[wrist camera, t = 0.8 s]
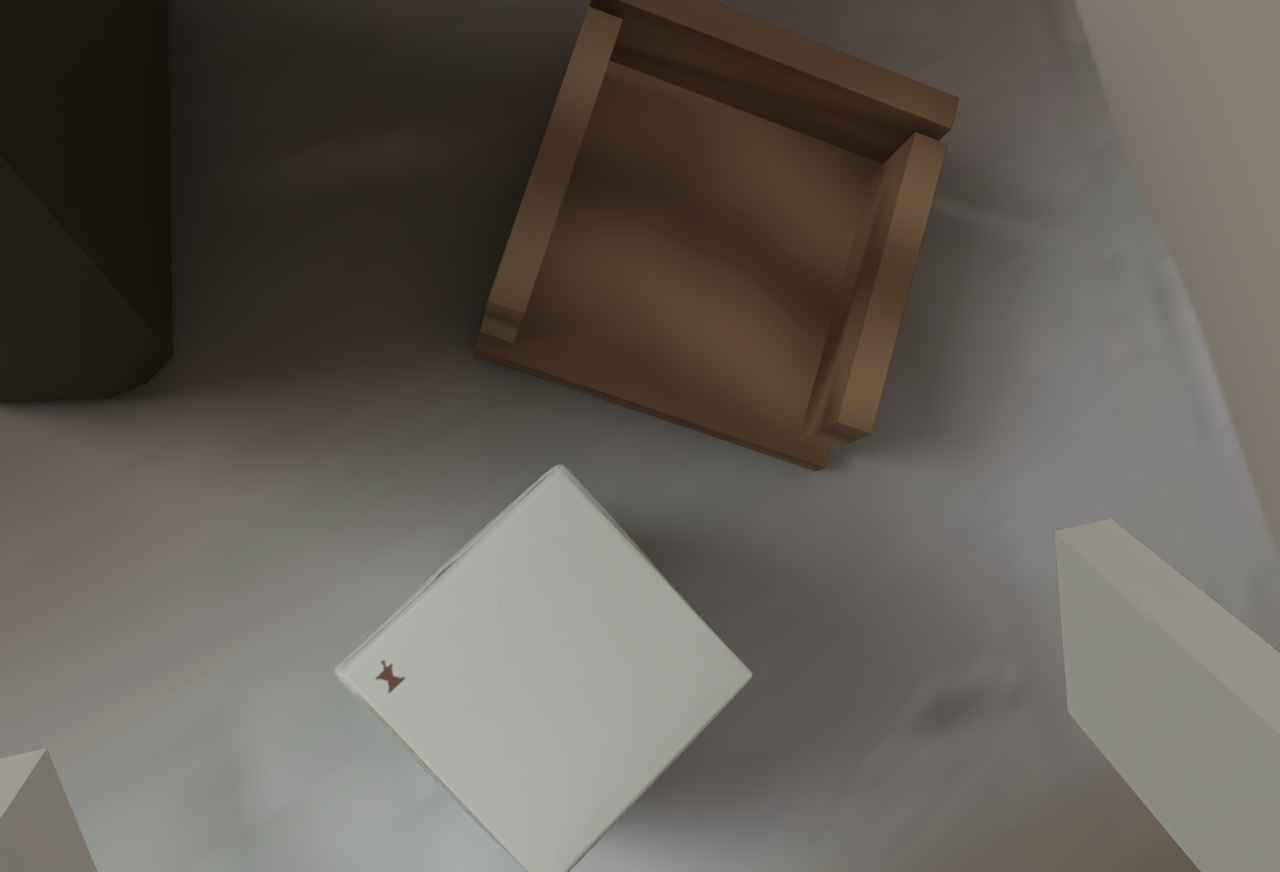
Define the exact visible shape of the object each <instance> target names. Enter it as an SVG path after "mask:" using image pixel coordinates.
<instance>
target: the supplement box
mask: <svg viewBox="0 0 1280 872" xmlns="http://www.w3.org/2000/svg"><path fill="white" fill-rule="evenodd" d="M334 672H335V676H336V677H337V678H338V679H339V680H340V681H341V683H342V684H343V685H344V686H345V687H346V688H347V689H348V690H349V691H350V692H351V693H352V694H353V695H354V696H355V697H356V698H357V699H358V701H359V702H360V703H361V704H362V705H363V706H364V707H365V708H366V709H367V710H368V711H369V712H370V713H371V714H372V715H373V716H374V717H375V719H376V720H377V721H378V722H379V723H380V724H381V725H382V726H383V727H384V728H385V729H386V730H387V731H388V732H389V733H390V734H391V735H392V736H393V737H394V738H395V739H396V741H397V742H398V743H399V744H400V745H401V746H402V747H403V748H404V749H405V750H406V751H407V752H408V753H409V754H410V755H411V756H412V757H413V758H414V760H415V761H416V762H417V763H418V764H419V765H420V766H421V767H422V768H423V769H424V770H425V771H426V772H427V773H428V774H429V775H430V776H431V777H432V778H433V779H434V780H435V781H436V782H437V783H438V784H439V785H440V786H441V787H442V788H443V789H444V790H445V791H446V792H447V793H448V794H449V795H450V796H451V797H452V798H453V799H454V800H455V801H456V802H457V803H458V804H459V805H460V806H461V807H462V808H463V809H464V810H465V811H466V812H467V814H468V815H469V816H470V817H471V818H472V819H473V820H474V821H475V822H476V823H478V824H479V825H480V826H481V827H482V828H483V829H484V830H485V831H486V832H487V833H488V834H489V835H490V836H491V837H492V838H493V839H494V840H495V841H496V842H497V843H498V844H499V845H500V846H501V847H502V848H503V849H504V850H505V851H506V852H507V853H508V854H509V855H510V856H511V857H512V858H513V859H514V860H515V861H516V862H517V863H518V864H519V865H520V866H521V867H523V868H524V869H525V870H526V871H527V872H569V871H570V870H571V869H572V868H573V867H574V866H575V865H576V864H577V863H578V862H579V861H580V860H581V859H582V858H583V857H584V856H585V855H586V854H587V853H588V852H589V851H590V849H591V848H592V847H593V846H594V845H595V844H596V843H597V842H598V841H599V840H600V839H601V838H602V837H603V836H604V835H605V834H606V833H607V832H608V831H609V830H610V828H611V827H612V826H613V825H614V824H615V823H616V822H617V821H618V820H619V819H620V818H621V817H622V816H623V815H624V814H625V813H626V812H627V811H628V810H629V809H630V808H631V807H632V806H633V804H634V803H635V802H636V801H637V800H638V799H639V798H640V797H641V796H642V795H643V794H644V793H645V792H646V791H647V790H648V789H649V788H650V787H651V786H652V785H653V783H654V782H655V781H656V780H657V779H658V778H659V777H660V776H661V775H662V774H663V773H664V772H665V771H666V770H667V769H668V768H669V767H670V766H671V764H672V763H673V762H674V761H675V760H676V759H677V758H678V757H679V756H680V755H681V754H682V753H683V752H684V751H685V750H686V749H687V748H688V746H689V745H690V744H691V743H692V742H693V741H694V740H695V739H696V738H697V737H698V736H699V735H700V734H701V733H702V732H703V731H704V730H705V728H706V727H707V726H708V725H709V724H710V723H711V722H712V721H713V720H714V719H715V718H716V717H717V716H718V715H719V714H720V713H721V711H722V710H723V709H724V708H725V707H726V706H727V705H728V704H729V703H730V702H731V701H732V699H733V698H734V697H735V696H736V695H737V694H738V693H739V692H740V691H741V690H742V689H743V687H744V686H745V685H746V684H747V683H748V682H749V681H750V680H751V679H752V677H753V673H752V672H751V671H750V670H749V669H748V668H747V667H746V666H745V665H744V664H743V663H742V662H741V661H740V659H739V658H738V657H737V656H736V655H735V654H734V653H733V652H732V651H731V650H730V649H729V648H728V647H727V645H726V644H725V643H724V642H723V641H722V640H721V639H720V638H719V636H718V635H717V634H716V633H715V632H714V631H713V630H712V629H711V628H710V627H709V625H708V624H707V623H706V622H705V621H704V620H703V619H702V618H701V617H700V616H699V614H698V613H697V612H696V611H695V610H694V609H693V608H692V607H691V606H690V604H689V603H688V602H687V601H686V600H685V599H684V598H683V596H682V595H681V594H680V593H679V592H678V591H677V590H676V589H675V587H674V586H673V585H672V584H671V583H670V582H669V581H668V580H667V578H666V577H665V576H664V575H663V574H662V573H661V572H660V571H659V569H658V568H657V567H656V566H655V565H654V564H653V563H652V561H651V560H650V559H649V558H648V557H647V556H646V555H645V554H644V552H643V551H642V550H641V549H640V548H639V547H638V546H637V545H636V543H635V542H634V541H633V540H632V539H631V538H630V537H629V536H628V534H627V533H626V532H625V531H624V530H623V529H622V528H621V527H620V525H619V524H618V523H617V522H616V521H615V520H614V519H613V518H612V516H611V515H610V514H609V513H608V512H607V511H606V510H605V509H604V507H603V506H602V505H601V504H600V503H599V502H598V501H597V500H596V499H595V497H594V496H593V495H592V494H591V493H590V492H589V491H588V490H587V488H586V487H585V486H584V485H583V484H582V483H581V482H580V481H579V480H578V478H577V477H576V476H575V475H574V474H573V473H572V472H571V470H570V469H569V468H568V467H567V466H565V465H563V464H559V465H556V466H554V467H552V468H551V469H550V470H548V471H547V472H546V473H545V474H544V475H542V476H541V477H540V478H539V479H538V480H537V481H536V482H534V483H533V484H532V485H531V486H530V487H529V488H528V489H526V490H525V491H524V492H523V493H522V494H521V495H520V496H519V497H517V498H516V499H515V500H514V501H513V502H512V503H511V504H509V505H508V506H507V507H506V508H505V509H504V510H503V511H502V512H501V513H499V514H498V515H497V516H496V517H495V518H494V519H493V520H492V521H491V522H489V523H488V524H487V525H486V526H485V527H484V528H483V529H482V530H481V531H480V532H478V533H477V534H476V535H475V536H474V537H473V538H472V539H471V540H470V541H469V542H468V543H466V544H465V545H464V546H463V547H462V548H461V549H460V550H459V551H458V552H457V553H455V554H454V555H453V556H452V557H451V558H450V559H449V560H448V561H447V562H446V563H445V564H443V565H442V566H441V567H440V568H439V569H438V570H437V571H436V572H435V573H434V574H433V575H432V576H430V577H429V578H428V579H427V580H426V581H425V582H424V583H423V584H422V585H421V586H420V587H419V588H418V589H417V590H416V591H415V592H414V593H413V594H412V595H411V596H410V597H409V598H408V599H407V600H406V601H405V602H403V603H402V604H401V605H400V606H399V607H398V608H397V609H396V610H395V611H394V612H393V613H392V614H391V615H390V616H389V617H388V618H387V619H386V620H385V621H384V622H383V623H382V624H381V625H380V626H379V627H378V628H377V629H376V630H375V631H374V632H373V633H372V634H371V635H370V636H369V637H368V638H367V639H366V640H364V641H363V642H362V643H361V644H360V645H359V646H358V647H357V648H356V649H355V650H354V651H353V652H352V653H351V654H350V655H349V656H348V657H347V658H346V659H345V660H343V661H342V662H341V663H340V664H339V665H338V666H337V667H336V669H335V671H334Z"/></svg>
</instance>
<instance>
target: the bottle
mask: <svg viewBox="0 0 1280 872" xmlns="http://www.w3.org/2000/svg"><path fill="white" fill-rule="evenodd" d="M172 355H173V344H172V280H171V216H170V152H169V87H168V23H167V0H0V401H26V400H55V399H84V398H108V397H111V396H113V395H116V394H118V393H121V392H124V391H126V390H129V389H132V388H134V387H137V386H139V385H142V384H145V383H147V382H148V381H149V380H150V379H151V378H152V377H153V376H154V375H155V374H156V372H157V371H158V370H159V369H160V368H161V367H162V366H163V365H164V364H165V363H166V362H167V361H168V360H169V359H170V358H171V356H172Z"/></svg>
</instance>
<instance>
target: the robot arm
mask: <svg viewBox="0 0 1280 872" xmlns="http://www.w3.org/2000/svg"><path fill="white" fill-rule="evenodd" d="M1054 535H1055V548H1056V561H1057V574H1058V587H1059V600H1060V614H1061V627H1062V640H1063V653H1064V666H1065V679H1066V693H1067V706H1068V713H1069V714H1070V715H1071V716H1072V717H1073V719H1074V720H1075V721H1076V722H1077V723H1078V725H1079V726H1080V727H1081V728H1082V729H1083V731H1084V732H1085V733H1086V734H1087V735H1088V737H1089V738H1090V739H1091V740H1092V742H1093V743H1094V744H1095V745H1096V746H1097V748H1098V749H1099V750H1100V751H1101V752H1102V754H1103V755H1104V756H1105V757H1106V758H1107V760H1108V761H1109V762H1110V763H1111V764H1112V766H1113V767H1114V768H1115V769H1116V770H1117V772H1118V773H1119V774H1120V775H1121V776H1122V778H1123V779H1124V780H1125V781H1126V782H1127V784H1128V785H1129V786H1130V787H1131V788H1132V790H1133V791H1134V792H1135V793H1136V794H1137V796H1138V797H1139V798H1140V799H1141V800H1142V802H1143V803H1144V804H1145V805H1146V806H1147V808H1148V809H1149V810H1150V811H1151V812H1152V814H1153V815H1154V816H1155V817H1156V818H1157V820H1158V821H1159V822H1160V823H1161V824H1162V826H1163V827H1164V828H1165V829H1166V830H1167V832H1168V833H1169V834H1170V835H1171V836H1172V838H1173V839H1174V840H1175V841H1176V842H1177V844H1178V845H1179V846H1180V847H1181V848H1182V850H1183V851H1184V852H1185V853H1186V855H1187V856H1188V857H1189V858H1190V859H1191V861H1192V862H1193V863H1194V864H1195V865H1196V867H1197V868H1198V869H1199V870H1200V871H1201V872H1280V653H1279V652H1278V651H1277V650H1276V649H1274V648H1273V647H1272V646H1271V645H1269V644H1268V643H1267V642H1266V641H1264V640H1263V639H1262V638H1261V637H1259V636H1258V635H1257V634H1256V633H1254V632H1253V631H1252V630H1250V629H1249V628H1248V627H1247V626H1245V625H1244V624H1243V623H1242V622H1240V621H1239V620H1238V619H1237V618H1235V617H1234V616H1233V615H1232V614H1230V613H1229V612H1228V611H1227V610H1225V609H1224V608H1223V607H1221V606H1220V605H1219V604H1218V603H1216V602H1215V601H1214V600H1213V599H1211V598H1210V597H1209V596H1208V595H1206V594H1205V593H1204V592H1203V591H1201V590H1200V589H1199V588H1198V587H1196V586H1195V585H1194V584H1193V583H1191V582H1190V581H1189V580H1187V579H1186V578H1185V577H1184V576H1182V575H1181V574H1180V573H1179V572H1177V571H1176V570H1175V569H1174V568H1172V567H1171V566H1170V565H1169V564H1167V563H1166V562H1165V561H1164V560H1162V559H1161V558H1160V557H1158V556H1157V555H1156V554H1155V553H1153V552H1152V551H1151V550H1150V549H1148V548H1147V547H1146V546H1145V545H1143V544H1142V543H1141V542H1140V541H1138V540H1137V539H1136V538H1135V537H1133V536H1132V535H1131V534H1129V533H1128V532H1127V531H1126V530H1124V529H1123V528H1122V527H1121V526H1119V525H1118V524H1117V523H1116V522H1114V521H1113V520H1112V519H1108V520H1103V521H1099V522H1094V523H1089V524H1085V525H1080V526H1076V527H1071V528H1066V529H1062V530H1057V531H1054ZM0 872H97V870H96V868H95V865H94V863H93V860H92V858H91V855H90V853H89V850H88V848H87V845H86V843H85V841H84V838H83V836H82V833H81V831H80V828H79V826H78V823H77V821H76V819H75V816H74V814H73V811H72V809H71V806H70V804H69V801H68V799H67V797H66V794H65V792H64V789H63V787H62V784H61V782H60V779H59V777H58V775H57V772H56V770H55V767H54V765H53V762H52V760H51V757H50V755H49V752H48V750H47V748H46V749H41V750H36V751H32V752H27V753H22V754H18V755H13V756H9V757H4V758H0Z"/></svg>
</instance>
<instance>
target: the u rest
mask: <svg viewBox="0 0 1280 872" xmlns="http://www.w3.org/2000/svg"><path fill="white" fill-rule="evenodd" d="M958 102H959V98H958V97H955V96H953V95H950V94H948V93H945V92H942V91H940V90H937V89H935V88H932V87H930V86H927V85H925V84H922V83H919V82H917V81H914V80H912V79H909V78H907V77H904V76H901V75H899V74H896V73H894V72H891V71H889V70H886V69H884V68H881V67H878V66H876V65H873V64H871V63H868V62H866V61H863V60H861V59H858V58H855V57H853V56H850V55H848V54H845V53H843V52H840V51H838V50H835V49H832V48H830V47H827V46H825V45H822V44H820V43H817V42H814V41H812V40H809V39H807V38H804V37H802V36H799V35H797V34H794V33H791V32H789V31H786V30H784V29H781V28H779V27H776V26H774V25H771V24H768V23H766V22H763V21H761V20H758V19H756V18H753V17H751V16H748V15H745V14H743V13H740V12H738V11H735V10H733V9H730V8H728V7H725V6H722V5H720V4H717V3H715V2H712V1H710V0H591V2H590V6H588V9H587V12H586V15H585V18H584V21H583V24H582V27H581V30H580V33H579V35H578V38H577V41H576V44H575V47H574V50H573V53H572V56H571V59H570V62H569V65H568V68H567V70H566V73H565V76H564V79H563V82H562V85H561V88H560V91H559V94H558V97H557V100H556V103H555V105H554V108H553V111H552V114H551V117H550V120H549V123H548V126H547V129H546V132H545V135H544V138H543V140H542V143H541V146H540V149H539V152H538V155H537V158H536V161H535V164H534V167H533V170H532V173H531V175H530V178H529V181H528V184H527V187H526V190H525V193H524V196H523V199H522V202H521V205H520V208H519V210H518V213H517V216H516V219H515V222H514V225H513V228H512V231H511V234H510V237H509V240H508V243H507V245H506V248H505V251H504V254H503V257H502V260H501V263H500V266H499V269H498V272H497V275H496V278H495V280H494V283H493V286H492V289H491V292H490V295H489V298H488V301H487V305H486V309H485V314H484V318H483V322H482V326H481V330H480V334H479V337H478V340H477V343H476V345H475V348H474V353H473V355H475V356H478V357H481V358H484V359H487V360H490V361H493V362H496V363H499V364H502V365H505V366H507V367H510V368H513V369H516V370H519V371H522V372H525V373H528V374H531V375H534V376H537V377H540V378H543V379H546V380H549V381H552V382H555V383H558V384H560V385H563V386H566V387H569V388H572V389H575V390H578V391H581V392H584V393H587V394H590V395H593V396H596V397H599V398H602V399H605V400H608V401H611V402H613V403H616V404H619V405H622V406H625V407H628V408H631V409H634V410H637V411H640V412H643V413H646V414H649V415H652V416H655V417H658V418H661V419H664V420H666V421H669V422H672V423H675V424H678V425H681V426H684V427H687V428H690V429H693V430H696V431H699V432H702V433H705V434H708V435H711V436H714V437H717V438H720V439H722V440H725V441H728V442H731V443H734V444H737V445H740V446H743V447H746V448H749V449H752V450H755V451H758V452H761V453H764V454H767V455H770V456H773V457H775V458H778V459H781V460H784V461H787V462H790V463H793V464H796V465H799V466H802V467H805V468H808V469H811V470H814V471H817V470H820V469H822V468H825V465H826V461H827V458H828V454H829V451H832V450H834V449H836V448H839V447H841V446H844V445H846V444H848V443H851V442H853V441H855V440H858V439H860V438H862V437H865V436H867V435H869V434H871V433H872V430H873V426H874V422H875V418H876V414H877V410H878V407H879V403H880V399H881V395H882V391H883V388H884V384H885V380H886V376H887V372H888V369H889V365H890V361H891V357H892V353H893V350H894V346H895V342H896V338H897V334H898V330H899V327H900V323H901V319H902V315H903V311H904V308H905V304H906V300H907V296H908V292H909V289H910V285H911V281H912V277H913V273H914V270H915V266H916V262H917V258H918V254H919V250H920V247H921V243H922V239H923V235H924V231H925V228H926V224H927V220H928V216H929V212H930V209H931V205H932V201H933V197H934V193H935V190H936V186H937V182H938V178H939V174H940V171H941V167H942V163H943V159H944V155H945V151H946V148H947V144H945V143H943V142H940V141H939V140H940V139H941V138H942V137H943V136H944V135H945V134H946V133H947V132H949V131H950V130H951V129H952V125H953V121H954V117H955V113H956V110H957V106H958Z"/></svg>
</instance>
